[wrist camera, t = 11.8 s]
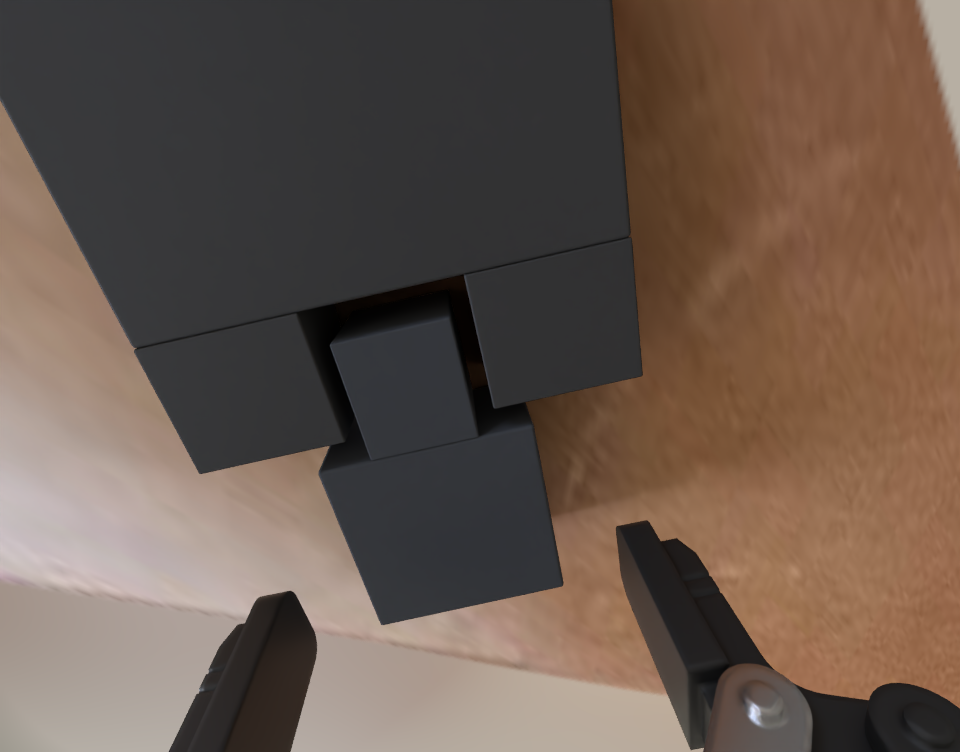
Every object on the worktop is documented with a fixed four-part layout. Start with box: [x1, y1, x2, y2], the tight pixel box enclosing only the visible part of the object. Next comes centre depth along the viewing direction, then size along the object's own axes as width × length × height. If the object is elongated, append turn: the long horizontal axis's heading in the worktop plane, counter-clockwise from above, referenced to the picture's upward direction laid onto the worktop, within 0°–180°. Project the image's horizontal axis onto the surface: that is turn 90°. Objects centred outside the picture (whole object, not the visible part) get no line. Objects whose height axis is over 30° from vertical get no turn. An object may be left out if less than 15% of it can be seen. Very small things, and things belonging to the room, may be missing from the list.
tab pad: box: [319, 290, 563, 625], centre depth 15 cm, size 9×6×3 cm, turn 12°
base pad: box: [0, 0, 643, 474], centre depth 12 cm, size 12×12×3 cm
